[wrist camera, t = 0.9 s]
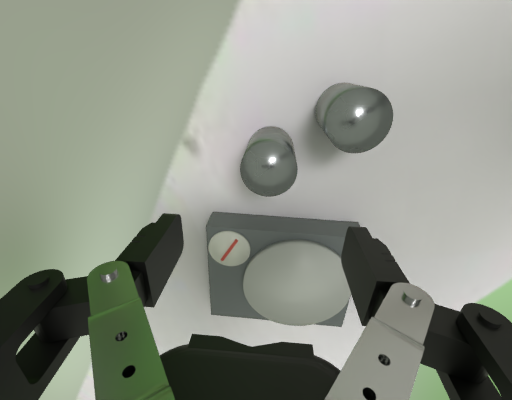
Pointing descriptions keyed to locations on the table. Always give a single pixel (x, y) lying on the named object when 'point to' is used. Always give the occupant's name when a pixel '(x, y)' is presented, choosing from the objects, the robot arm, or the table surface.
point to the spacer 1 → (269, 162)
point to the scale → (277, 268)
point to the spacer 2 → (354, 116)
